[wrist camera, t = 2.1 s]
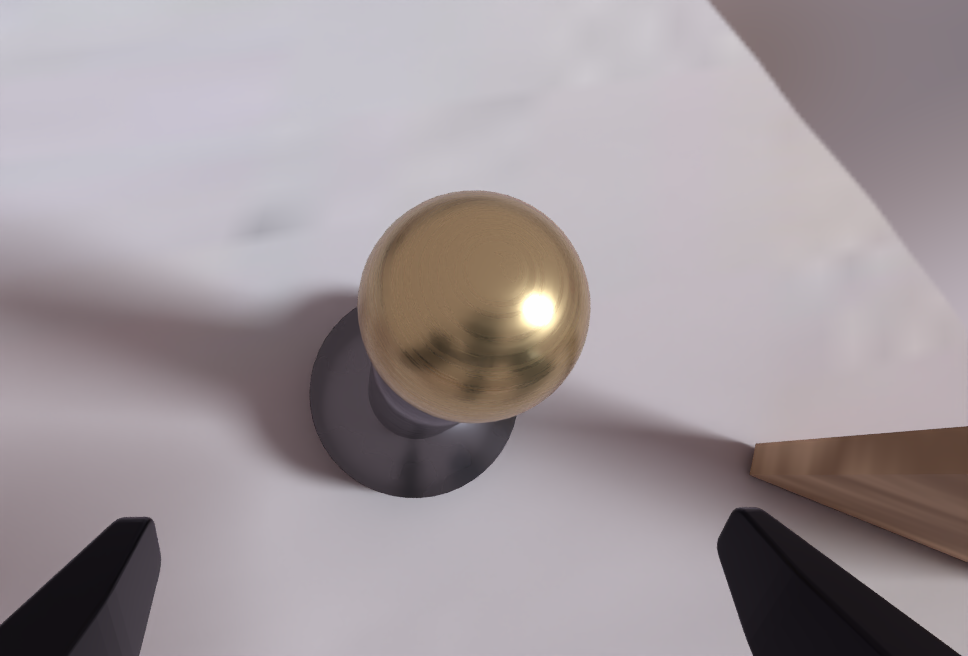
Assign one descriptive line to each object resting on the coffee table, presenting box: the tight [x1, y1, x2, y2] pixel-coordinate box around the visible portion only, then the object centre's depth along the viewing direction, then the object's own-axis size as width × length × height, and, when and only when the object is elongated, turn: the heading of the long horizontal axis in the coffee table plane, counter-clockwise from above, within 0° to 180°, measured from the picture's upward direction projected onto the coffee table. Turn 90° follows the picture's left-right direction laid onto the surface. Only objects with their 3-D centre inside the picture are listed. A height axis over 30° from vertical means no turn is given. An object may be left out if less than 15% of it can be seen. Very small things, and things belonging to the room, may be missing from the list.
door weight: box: [310, 191, 590, 498], centre depth 14 cm, size 6×6×13 cm
